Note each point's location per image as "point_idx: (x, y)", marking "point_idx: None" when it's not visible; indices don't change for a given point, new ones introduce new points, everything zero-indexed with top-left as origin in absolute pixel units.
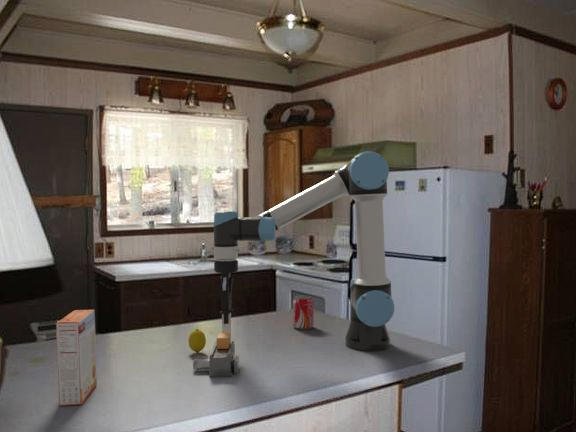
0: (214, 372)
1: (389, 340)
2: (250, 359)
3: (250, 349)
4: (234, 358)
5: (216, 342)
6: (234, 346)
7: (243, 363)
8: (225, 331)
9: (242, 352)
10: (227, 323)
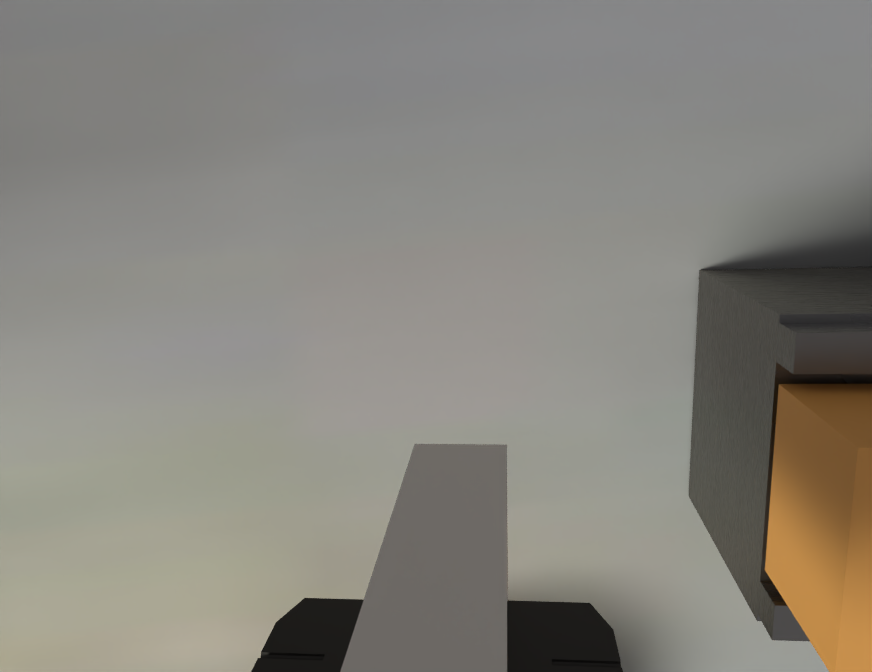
0: None
1: None
2: (628, 70)
3: (188, 115)
4: (766, 276)
5: None
6: (815, 306)
7: (795, 149)
8: (507, 560)
9: (323, 210)
10: (594, 628)
